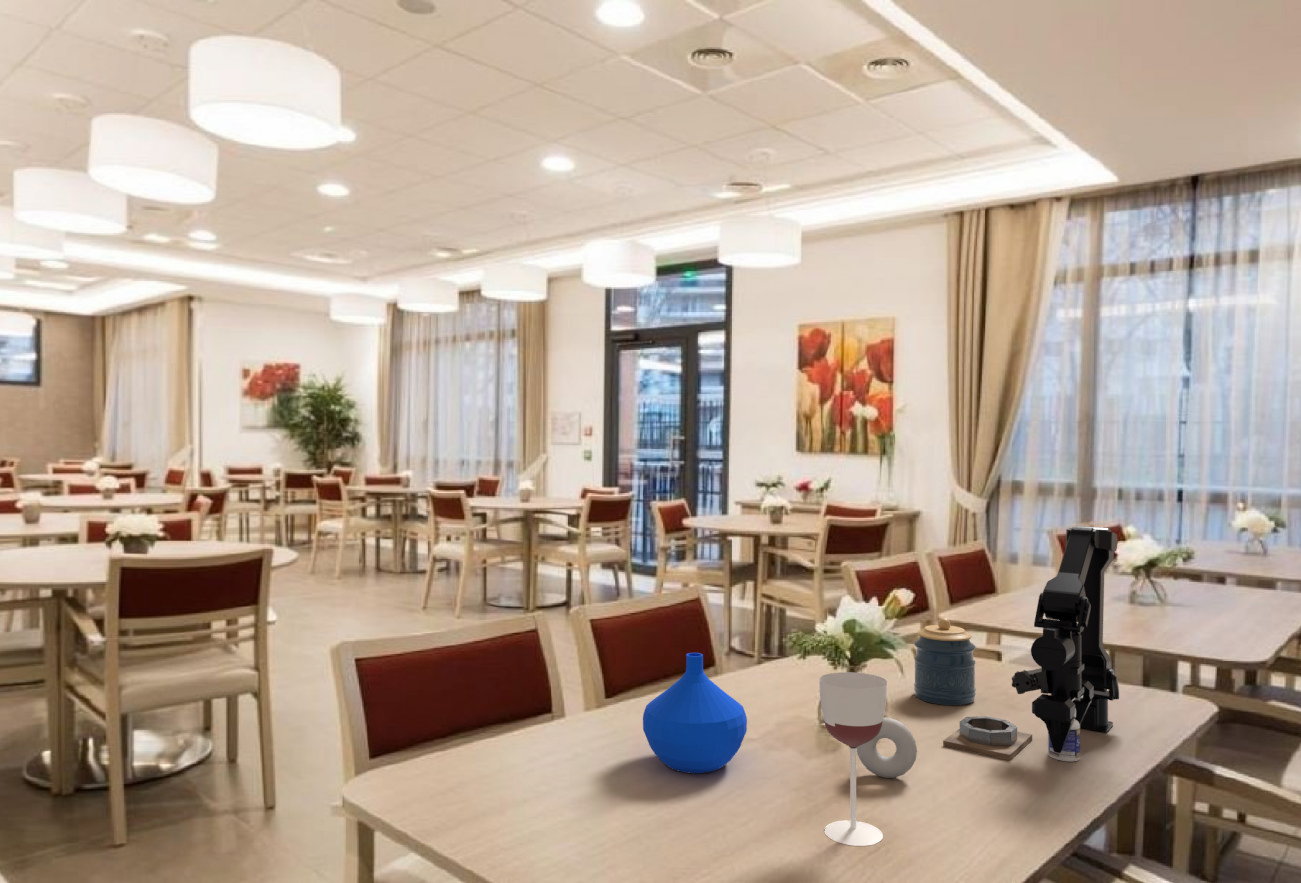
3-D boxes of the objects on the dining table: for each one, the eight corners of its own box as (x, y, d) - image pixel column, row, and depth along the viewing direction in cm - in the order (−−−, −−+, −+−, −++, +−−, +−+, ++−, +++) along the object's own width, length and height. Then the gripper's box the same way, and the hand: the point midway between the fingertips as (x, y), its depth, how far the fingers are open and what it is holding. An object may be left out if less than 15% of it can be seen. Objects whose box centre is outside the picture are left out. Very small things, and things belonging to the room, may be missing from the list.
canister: (984, 706, 186) (984, 624, 186) (924, 706, 186) (923, 624, 186) (963, 689, 199) (963, 612, 199) (907, 689, 199) (906, 612, 199)
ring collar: (971, 726, 169) (971, 713, 169) (1021, 736, 164) (1021, 722, 164) (954, 738, 162) (954, 725, 162) (1006, 749, 156) (1006, 735, 156)
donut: (917, 777, 146) (917, 717, 146) (916, 784, 143) (916, 724, 143) (857, 770, 149) (856, 711, 149) (854, 777, 146) (854, 717, 146)
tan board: (968, 727, 172) (968, 721, 172) (1032, 739, 165) (1032, 734, 165) (943, 745, 161) (943, 740, 161) (1010, 760, 154) (1010, 754, 154)
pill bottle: (1084, 763, 152) (1083, 712, 152) (1052, 761, 153) (1051, 711, 153) (1075, 753, 158) (1075, 704, 158) (1044, 751, 159) (1044, 702, 159)
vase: (760, 754, 157) (760, 648, 157) (726, 790, 140) (725, 672, 140) (668, 740, 165) (667, 639, 165) (624, 773, 148) (624, 661, 148)
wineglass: (812, 821, 129) (812, 673, 129) (875, 818, 130) (874, 671, 130) (829, 848, 120) (829, 689, 120) (896, 845, 121) (896, 687, 121)
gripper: (1030, 642, 168) (1031, 723, 168) (1001, 661, 153) (1001, 749, 153) (1094, 651, 161) (1094, 735, 161) (1069, 671, 146) (1069, 764, 146)
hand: (1064, 745), depth 156 cm, fingers open, 9 cm apart
